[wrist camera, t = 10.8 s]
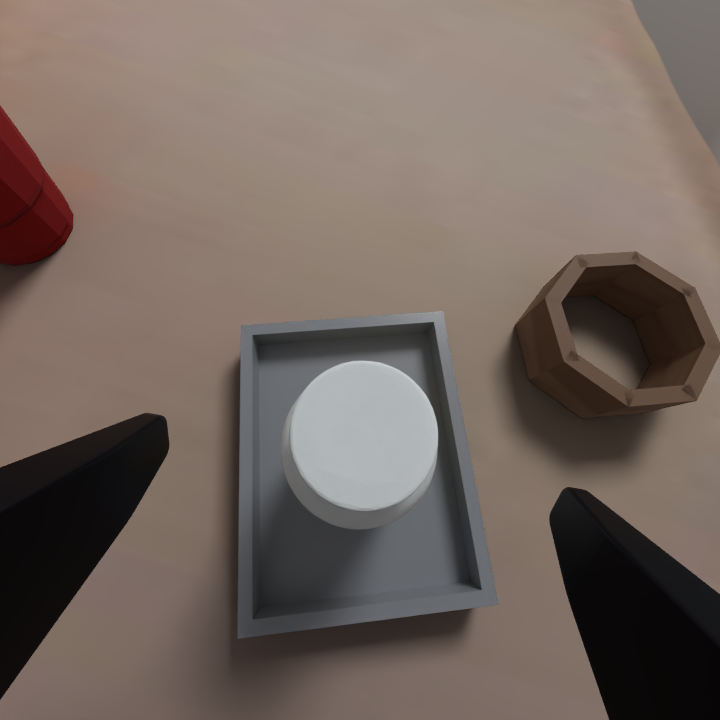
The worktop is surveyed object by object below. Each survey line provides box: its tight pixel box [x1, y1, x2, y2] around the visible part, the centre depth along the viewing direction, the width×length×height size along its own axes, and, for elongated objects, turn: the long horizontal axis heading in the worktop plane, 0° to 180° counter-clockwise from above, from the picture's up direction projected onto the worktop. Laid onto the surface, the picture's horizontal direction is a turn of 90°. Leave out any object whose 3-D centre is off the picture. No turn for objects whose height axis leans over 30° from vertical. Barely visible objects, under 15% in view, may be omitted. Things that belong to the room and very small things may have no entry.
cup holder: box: [515, 252, 720, 419], centre depth 20 cm, size 9×9×4 cm
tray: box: [237, 311, 498, 639], centre depth 18 cm, size 14×11×2 cm
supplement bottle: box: [281, 361, 438, 529], centre depth 14 cm, size 5×5×10 cm
